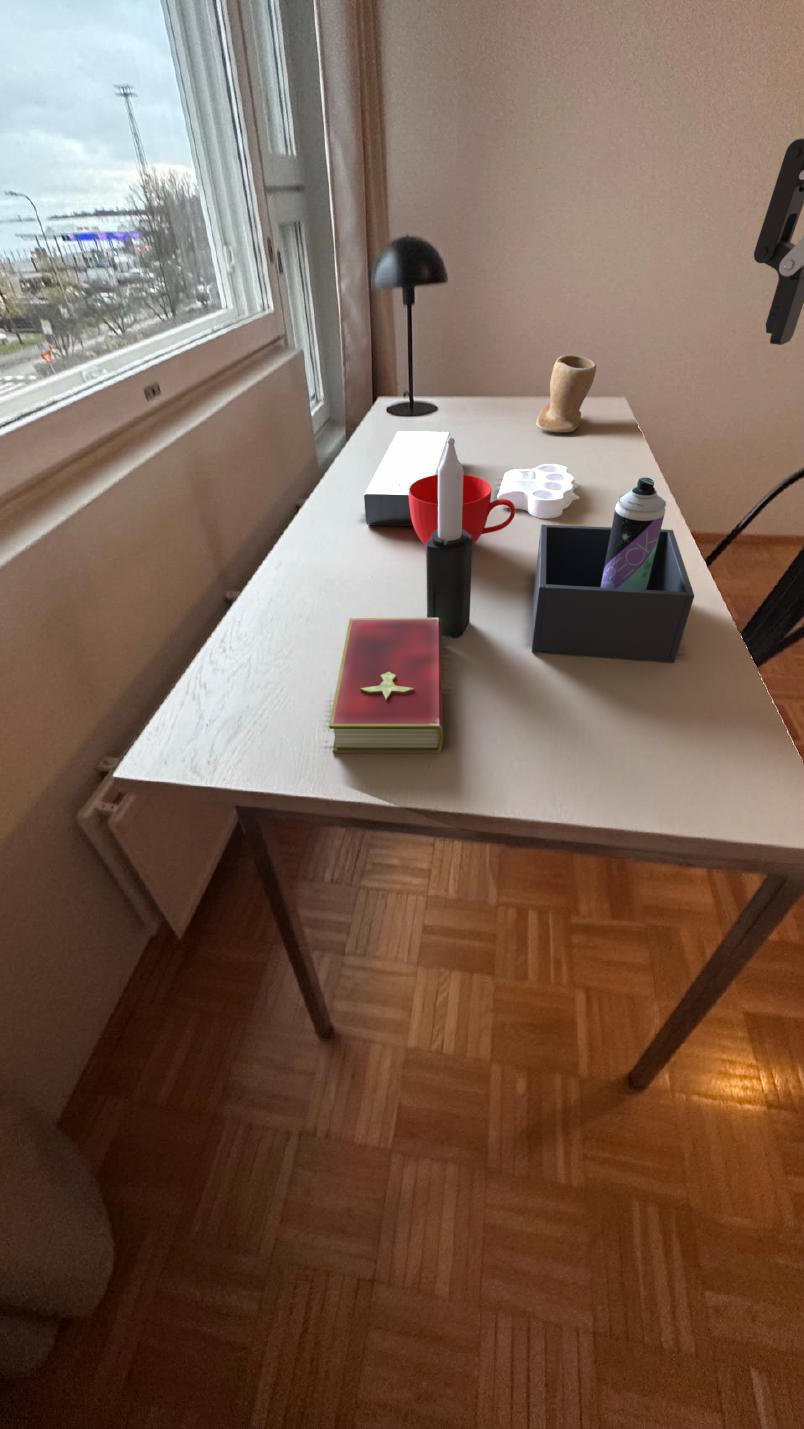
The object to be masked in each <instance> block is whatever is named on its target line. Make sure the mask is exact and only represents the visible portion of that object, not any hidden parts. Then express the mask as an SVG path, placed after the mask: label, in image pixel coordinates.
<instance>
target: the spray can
mask: <svg viewBox="0 0 804 1429" xmlns="http://www.w3.org/2000/svg"><path fill="white" fill-rule="evenodd" d="M654 486H655V481H654V480H653V479H652V478H650V477H640V478H639V479H638V481H637V485H636V486H635V487H633V488H631V490H630V491H629V492H626V493H623V494H622V495H619V496H618V498H617V503H616V504H615V508H614V512H613V520H612V525H611V527H612V529H611V534H610V540H609V545H608V550H607V556H606V561H605V566H604V572H603V577H602V582H601V587H603V588H622V589H640V590H646V589H647V585H648V581H649V577H650V572H651V568H652V564H653V560H654V556H655V552H656V548H657V543H658V539H659V535H660V531H661V529H662V526H663V523H664V519H665V514H666V506H667V501H666V500H665V499H664V498H663V497H661V496H660V495H658V492H657V490H656V488H655V487H654Z"/></svg>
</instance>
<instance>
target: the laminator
mask: <svg viewBox="0 0 804 1429" xmlns="http://www.w3.org/2000/svg"><path fill="white" fill-rule="evenodd" d="M449 438H451V433H450V431H421V430H420V431H417V430H415V431H414V430H413V431H412V430H398V431H397V433H396V434H395V436H394V438H393V440H392V442H391V443H390V445H389V447H388V450H387V451H386V453H385V455H384V457H383V458H382V461H381V463H380V464H379V466H378V468H377V470H376V472H375V474H374V476H373V478H372V480H371V482H370V483H369V485H368V486H367V489H366V490H365V493H364V495H363V502H364V514H365V515H364V516H365V524H366V526H370V525H371V526H400V527H402V526H403V527H414V526H413V523H412V519H411V513H410V506H409V488H410V486H411V485H412V484H413V483H414V482H415V481H417V480H419V479H421V478H424V477H427V476H432V475H437V474H438V468H439V466H440V465H441V463H442V462H443V460H444V457H445V454H446V451H447V447H448V443H447V441H448V439H449Z"/></svg>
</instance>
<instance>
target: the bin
mask: <svg viewBox="0 0 804 1429" xmlns="http://www.w3.org/2000/svg"><path fill="white" fill-rule="evenodd" d="M611 529H612V526H591V525H589V526H587V525H566V524H565V525H563V524H540V531H539V538H538V539H539V540H538V548H537V557H536V566H535V567H536V568H535V575H534V576H535V577H534V585H533V604H532V606H533V607H532V629H531V630H532V631H531V632H532V633H531V653H532V654H533V653H534V654H545V655H559V656H560V655H561V656H571V657H573V656H574V657H586V658H587V657H588V658H603V659H613V660H614V659H615V660H629V661H630V660H632V661H642V662H643V661H644V662H657V663H671V664H674V663H675V662H676V658H677V655H678V652H679V648H680V645H681V642H682V638H683V635H684V632H685V629H686V626H687V622H688V619H689V615H690V612H691V609H692V605H693V602H694V599H695V593H694V590H693V587H692V584H691V580H690V577H689V575H688V572H687V569H686V566H685V562H684V560H683V556H682V553H681V550H680V547H679V545H678V541H677V538H676V535H675V533H674V530H673V529H667V528H665V529H663V528H661V531H660V535H659V539H658V543H657V548H656V552H655V556H654V560H653V564H652V568H651V572H650V577H649V581H648V585H647V589H646V590H640V589H622V588H603V587H601V582H602V577H603V572H604V566H605V561H606V556H607V550H608V545H609V540H610V534H611Z"/></svg>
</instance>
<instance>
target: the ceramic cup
mask: <svg viewBox="0 0 804 1429" xmlns="http://www.w3.org/2000/svg"><path fill="white" fill-rule="evenodd" d="M492 491H493V490H492V486H491V484H490V483H489V482H488V481H486V480H485V479H484V478H481V477H479V476H475V475H471V474H466V473H463V501H462V529H463V530H465V531H466V532H467V533H468V534H470V535H472V537H473V545H474V544H476V543H477V541H478V540H479V539H480V537H481V536H482V535H485V534H490V533H494V532H497V531H501V530H503V529H505V528H507V527H508V526H509V525H510V524H511V522H512V521H513V519H514V518H515V516H516V509H515V506H514V504H513V503H512V502H511V501H510V500H507V499H499V500H497V499H496V500H493V501H491V498H492ZM501 505H506V506H508V507H509V510H510V514H509V516H508V517H507V519H506V520H505V521H504V522H502V523H500V524H496V525H493V526H488V527H487V526H486V524H487V521H488V517H489V516H490V513H491V512H492V510H493V509H495V508H496V507H498V506H501ZM409 506H410V513H411V519H412V523H413V526H412V527H413V530H414V531H415V533H416V535H417V537H418V539H419V540H420V541H421V542H422V544H423V545H424V546H425V547H426V543H427V542H428V541H429V539H430V538H431V534H432V533H433V532H434V531H435V530H437V529H438V474H437V475H432V476H427V477H424V478H421V479H419V480H417V481H415V482H414V483H413V484H412V485H411V486H410V488H409Z"/></svg>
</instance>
